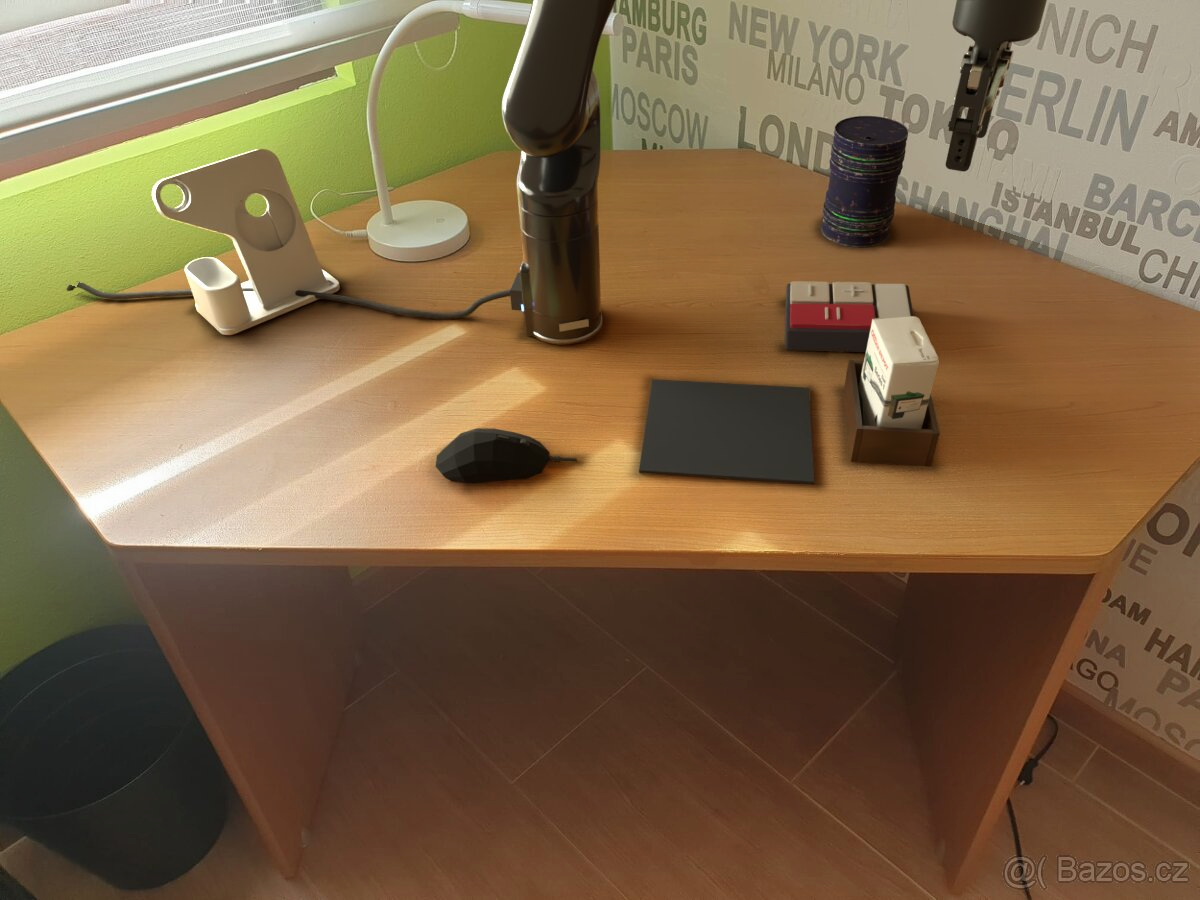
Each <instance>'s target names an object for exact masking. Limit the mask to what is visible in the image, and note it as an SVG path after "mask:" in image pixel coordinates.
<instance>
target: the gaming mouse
mask: <svg viewBox="0 0 1200 900" xmlns="http://www.w3.org/2000/svg"><path fill="white" fill-rule="evenodd" d="M549 462H550V463H551V462H554V463H561V462H578V458H577V457H569V456H567V457H564V456H563V457H562V456H561V455H550V451H549V450H548V449H547V448H546V447H545V446H544V444H543V443H541V442H540V441H539V440H537V439H535V438H533V437H531V436H529V435H525V434H521V433H519V432H515V431H510V430H504V429H499V428H488V427H487V428H485V427H482V428H481V427H477V428H473V429H470V430H467V431H463V432H460V433H459V434H458V435H457V436H456V437H455V438H454V439H453V440H451V441H450V442H449V443H448V444H447V445H446V446H445V447H444V448H443V449H442V450H441V451H439V453H438V454H437V455H436V459H435V468H436V469H437V470H438V471H439V473H440V474H441V475H442V476H443V478H445V479H446V480H448V481H450V482H451V483H452V482H453V483H458V484H465V485H474V484H476V485H477V484H487V483H497V482H499V483H500V482H511V481H512V482H513V481H521V480H528V479H532V478H533V477H536V476H538V475H541V474H542V473H543V471H544V470H545V469H546V467H547V465H548V464H549Z"/></svg>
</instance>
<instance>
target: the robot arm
mask: <svg viewBox="0 0 1200 900" xmlns="http://www.w3.org/2000/svg"><path fill="white" fill-rule="evenodd" d="M1047 1H1048V0H956V2H955V7H954V12H953V16H952V28H953V29H954V30H955V31H956V32H957V33H958V34H960V35H961V36H964V37H969V38H970V39H972V41H974V44H973V45H970V44H969V47H968V49H967V53H964V54H963V57H962V60H961V64H960V66H959V67H960V71H959V73H960V76H959V79H958V84H957V87H956V90H955V92H954V98H953V99H954V104H953V108H952V112H951V116H950V120H949V121H948V123H947V127H948V132H952V133H951V138H950V142H949V145H948V151H947V155H946V160H945V168H946V169H948V170H951V171H957V172H967V171H968V170H970V168H971V166H972V160H973V157H974V152H975V148H976V144H977V140H978V139H984V137H985V136H986V135H987V133H988V130H989V129H988V128H989V125H990V121H991V117H992V112H993V109H994V105H995V100H997V98H998V97H999V95H1000V92H1001V90H1000V88H1004V85H1005V82H1006V79H1007V75H1008V71H1009V69H1010V67H1011V64H1012V60H1013V58H1014V57H1013V56H1014V50H1011V48H1012V44H1013V43H1016V42H1023V41H1025V40H1028V39H1031V38H1033V37H1034V36H1036V34H1038V32H1039V30H1040V27H1041V24H1042V21H1043V18H1044V17H1043V16H1044V14H1045V13H1044V12H1045V8H1046V6H1047ZM616 2H617V0H532V1H531V7H530V12H529V16H528V19H527V24H526V25H525V30H524V33H523V36H522V40H521V43H520V46H519V49H518V52H517V55H516V58H515V61H514V64H513V68H512V70H511V73H510V75H509V78H508V81H507V84H506V86H505V89H504V92H503V95H502V101H501V115H502V121H503V124H504V125H503V126H504V128H505V130H506V133H507V135H508V137H509V138H510V140H511V141H512V143H513V144H514V145H515V146H516V148H517V149H519V150H520V159H519V160H520V161H519V167H518V171H517V176H516V196H517V205H518V216H519V226H520V227H519V228H520V238H521V249H522V251H521V252H522V261H521V264H520V267H519V272H517V273H516V275H515V278H514V280H513V282H512V284H511V286H510V288H509V289H505V290H502V291H497V292H494V293H490V294H487V295H484V296H482V297H480V298H478V299H477V300H475V301H474V302H473V303H472V304H471V305H470V306H469V307H468V308H466V309H463V310H460V311H455V312H433V311H432V312H431V311H425V310H417V309H410V308H403V307H402V308H401V307H396V306H392V305H387V304H383V303H379V302H376V301H371V300H368V299H367V300H366V299H362V298H361V299H360V298H355V297H350V296H345V295H340V294H334V293H332V294H327V293H319V292H311V291H302V290H297V291H296V292H295V295H297V296H302V297H305V296H308V295H313V296H315V298H319V299H318V300H327V301H334V302H340V303H345V304H350V305H356V306H362V307H367V308H371V309H375V310H378V311H383V312H387V313H391V314H396V315H400V316H401V315H402V316H408V317H416V318H425V319H432V320H433V319H434V320H456V319H460V318H465V317H467V316H469V315H471V314H473V313H474V312H475V311H476V310H477V309H478V308H479V307H481V306H482V305H484V304H486V303H489V302H492V301H494V300H499V299H502V298H507V297H510V307H511V311H519V312H523V321H524V332H525V336H527V337H533V338H536V339H537V340H539V341H542V342H544V343H547V344H553V345H573V344H578V343H582V342H585V341H587V340H590V339H592V338H593V337H595V336H596V335H597V334H599V332H600V331H601V329H602V327H603V315H602V313H603V312H602V310H603V309H602V290H601V289H602V288H601V258H600V255H601V254H600V228H599V227H600V225H599V198H598V197H599V195H598V194H599V193H598V183H599V182H598V181H599V175H600V169H601V159H602V157H601V154H602V153H601V152H602V151H601V135H602V133H601V95H600V94H601V93H600V87H599V82H598V78H597V76H596V73H595V71H594V65H595V61H596V56H597V54H598V53H597V52H598V50H599V45H600V42H601V38H602V35H603V32H604V29H605V27H606V24H607V23H608V20H609V18H610V16H611V13H612V11H613V9H614V7H615V5H616ZM966 108H967V114H966V117H964V118H963V117H962V115H963V111H964V110H965V109H966ZM78 282H79V283H78V285H77V287H75V286H72V285H70V284H68V285H67V287H66V291H67V292H72V291H74V290H75V289H76V288H79V289H81V290H83V291H85V292H87V293H89V294H91V295H93V296H95V297H98V298H102V299H108V300H134V299H147V298H161V297H162V298H163V297H164V298H165V297H183V296H184V297H185V296H193V293H192V291H191V288H190V289H189V288H188V289H171V290H149V291H137V292H105V291H101V290H99V289H96V288H94V287H92V286H90V285H88V284H86V283H84V282H82V283H80V282H81V281H78ZM242 289H243V291H252V292H254V290H253V288H242Z"/></svg>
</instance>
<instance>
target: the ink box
mask: <svg viewBox="0 0 1200 900" xmlns="http://www.w3.org/2000/svg"><path fill="white" fill-rule="evenodd" d="M863 360H864V363H863V368H862V373H861V378H860V382H859V387H858V394H859V403H860V411H861V419H862V426H876V427H893V428H910V429H922V425H923V421H924V417H925V413H926V410H927V406H928V402H929V398H930V394H931V395H932V389H933V386H934V383H935V379H936V375H937V371H938V368H939V365H940V361H939V356H938V354H937V352H936V349H935V347H934V346H933V344H932V342H931V339H930V337H929V336H928V334H927V332H926V330H925V327H924V325H923V323H922V321H921V319H920V318H919V317H918V316H910V317H890V318H876V319H872V324H871V329H870V334H869V339H868V344H867V349H866V352H865V354H864V359H863Z"/></svg>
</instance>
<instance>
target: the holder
mask: <svg viewBox="0 0 1200 900" xmlns="http://www.w3.org/2000/svg"><path fill="white" fill-rule="evenodd" d="M863 363H864V359H863V360H861V359H849V360H848V363H847V367H846V375H845V380H844V384H843V391H842V392H843V393H842V394H843V401H844V410H845V412H844V413H845V420H846V429H847V439H848V448H849V449H848V450H849V459H850V462H851V463H856V462H857V463H866V464H883V465H899V466H901V465H902V466H915V467H932V465H933V461H934V457H935V453H936V450H937V446H938V442H939V438H940V434H941V432H940V428H939V423H938V419H937V413H936V410H935V405H934V400H933V395H932V393H931V394H930V398H929V402H928V406H927V410H926V413H925V417H924V421H923V425H922V429H910V428H893V427H876V426H862V419H861V411H860V403H859V394H858V387H859V382H860V378H861V373H862V368H863Z"/></svg>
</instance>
